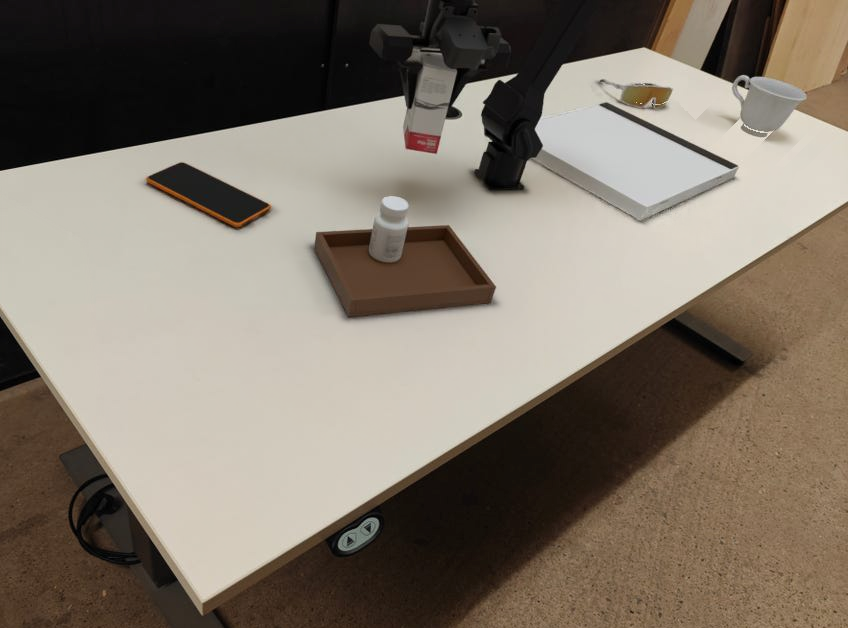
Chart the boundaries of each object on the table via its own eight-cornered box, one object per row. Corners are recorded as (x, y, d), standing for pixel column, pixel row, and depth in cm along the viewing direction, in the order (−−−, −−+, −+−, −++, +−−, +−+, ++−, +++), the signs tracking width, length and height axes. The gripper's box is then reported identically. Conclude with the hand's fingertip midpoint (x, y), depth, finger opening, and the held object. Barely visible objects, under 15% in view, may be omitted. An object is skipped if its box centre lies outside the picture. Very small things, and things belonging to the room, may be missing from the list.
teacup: (725, 111, 158) (748, 68, 151) (787, 137, 151) (814, 93, 145) (706, 121, 151) (729, 76, 144) (770, 148, 144) (797, 102, 138)
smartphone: (237, 230, 88) (238, 224, 88) (144, 182, 93) (143, 177, 92) (273, 209, 93) (273, 203, 93) (182, 165, 98) (182, 160, 98)
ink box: (437, 155, 96) (459, 71, 88) (404, 150, 95) (422, 64, 88) (433, 132, 102) (452, 51, 95) (402, 126, 102) (419, 45, 94)
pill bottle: (406, 254, 90) (418, 203, 84) (390, 268, 87) (401, 215, 81) (379, 241, 91) (389, 190, 86) (361, 254, 88) (371, 201, 83)
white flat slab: (605, 101, 142) (740, 165, 127) (601, 112, 144) (733, 177, 129) (502, 127, 122) (646, 207, 107) (498, 139, 124) (640, 220, 109)
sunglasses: (623, 107, 148) (631, 84, 145) (588, 90, 160) (595, 68, 157) (676, 111, 152) (685, 88, 149) (639, 94, 163) (646, 72, 161)
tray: (444, 240, 95) (449, 224, 93) (491, 302, 85) (496, 287, 84) (313, 248, 88) (316, 231, 86) (348, 317, 79) (351, 300, 77)
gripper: (408, 2, 77) (385, 133, 87) (547, 14, 83) (509, 135, 93) (378, -26, 84) (359, 97, 94) (507, -13, 90) (476, 101, 101)
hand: (427, 108), depth 95 cm, fingers closed on ink box, 6 cm apart
